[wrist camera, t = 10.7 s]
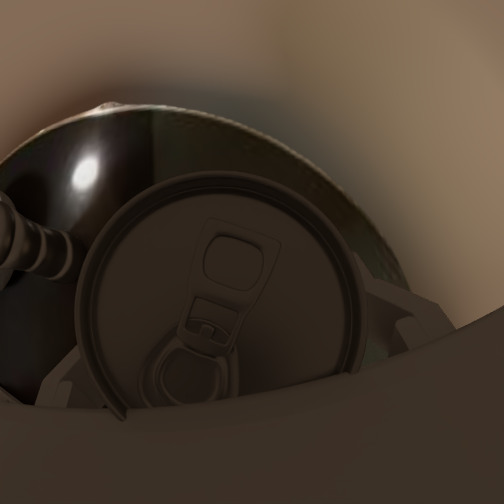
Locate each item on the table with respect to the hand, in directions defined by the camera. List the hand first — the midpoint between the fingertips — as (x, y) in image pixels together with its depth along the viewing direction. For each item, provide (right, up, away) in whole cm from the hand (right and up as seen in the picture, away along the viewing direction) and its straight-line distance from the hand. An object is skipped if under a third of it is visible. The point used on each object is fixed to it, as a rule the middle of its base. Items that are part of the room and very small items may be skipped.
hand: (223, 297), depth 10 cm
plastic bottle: (-22, 0, +24) cm, 32 cm away
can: (0, -2, +7) cm, 7 cm away
